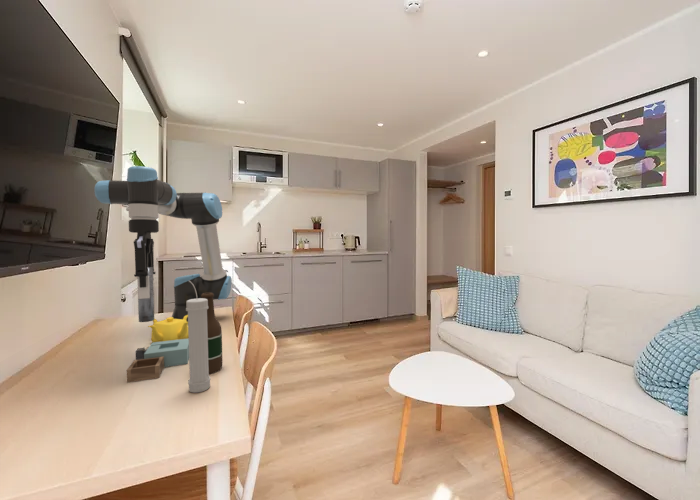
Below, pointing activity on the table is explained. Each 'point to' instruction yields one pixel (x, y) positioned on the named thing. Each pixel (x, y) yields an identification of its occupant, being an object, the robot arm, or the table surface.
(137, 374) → the brown wooden tray
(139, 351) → the block
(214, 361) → the beer bottle
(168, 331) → the teapot
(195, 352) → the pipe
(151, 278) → the cylinder
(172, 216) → the robot arm
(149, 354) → the chuck block
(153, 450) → the table surface
